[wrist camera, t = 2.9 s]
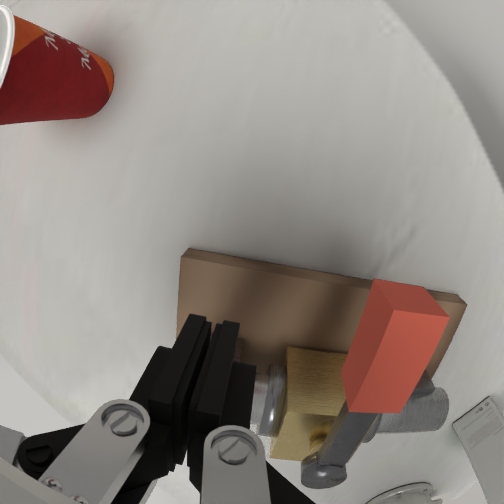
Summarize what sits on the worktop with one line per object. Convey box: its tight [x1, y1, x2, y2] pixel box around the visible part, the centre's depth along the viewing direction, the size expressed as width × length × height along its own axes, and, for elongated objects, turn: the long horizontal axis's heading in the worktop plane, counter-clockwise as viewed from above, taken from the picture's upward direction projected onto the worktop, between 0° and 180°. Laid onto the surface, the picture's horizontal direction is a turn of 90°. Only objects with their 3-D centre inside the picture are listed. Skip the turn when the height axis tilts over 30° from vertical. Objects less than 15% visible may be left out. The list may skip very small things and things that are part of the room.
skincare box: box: [453, 397, 504, 504], centre depth 22 cm, size 8×7×16 cm
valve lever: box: [301, 279, 450, 489], centre depth 14 cm, size 14×3×3 cm, turn 171°
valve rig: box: [176, 248, 467, 463], centre depth 21 cm, size 24×14×11 cm, turn 81°
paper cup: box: [0, 5, 114, 125], centre depth 14 cm, size 8×8×14 cm
